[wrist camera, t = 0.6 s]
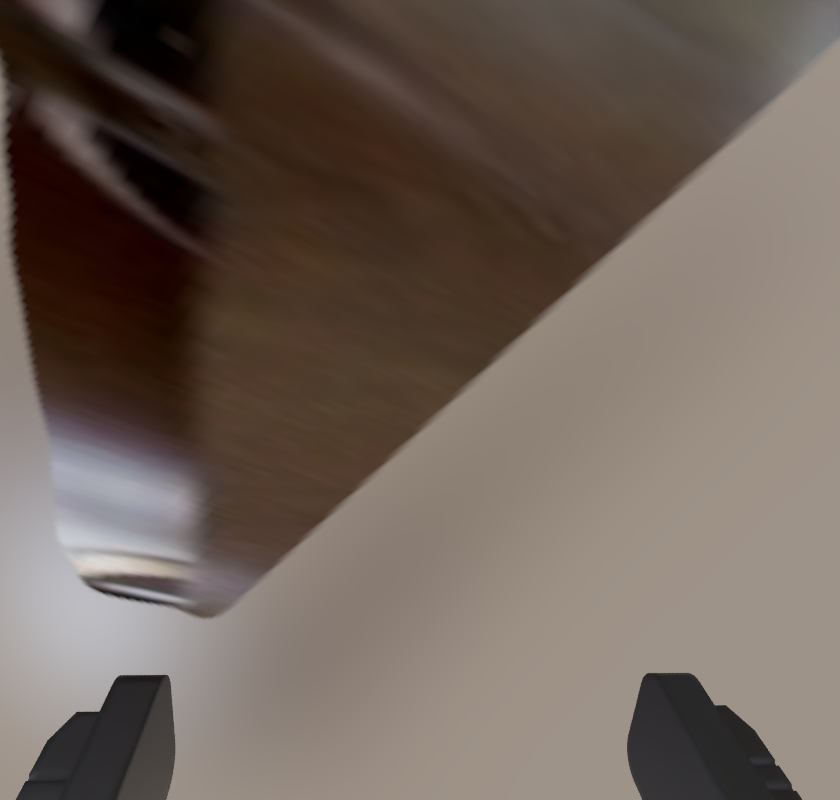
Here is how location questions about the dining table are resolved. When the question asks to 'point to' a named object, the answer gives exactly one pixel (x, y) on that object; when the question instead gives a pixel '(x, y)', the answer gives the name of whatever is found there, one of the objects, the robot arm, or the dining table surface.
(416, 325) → the dining table surface
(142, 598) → the dining table surface
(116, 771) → the robot arm
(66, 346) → the dining table surface
